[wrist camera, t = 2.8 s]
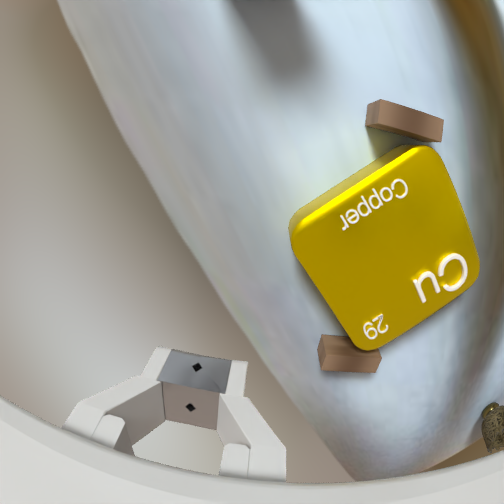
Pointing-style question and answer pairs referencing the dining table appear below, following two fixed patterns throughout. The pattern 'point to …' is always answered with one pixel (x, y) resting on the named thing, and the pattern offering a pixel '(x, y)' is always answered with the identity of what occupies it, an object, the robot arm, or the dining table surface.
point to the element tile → (387, 245)
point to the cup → (493, 426)
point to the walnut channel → (406, 124)
